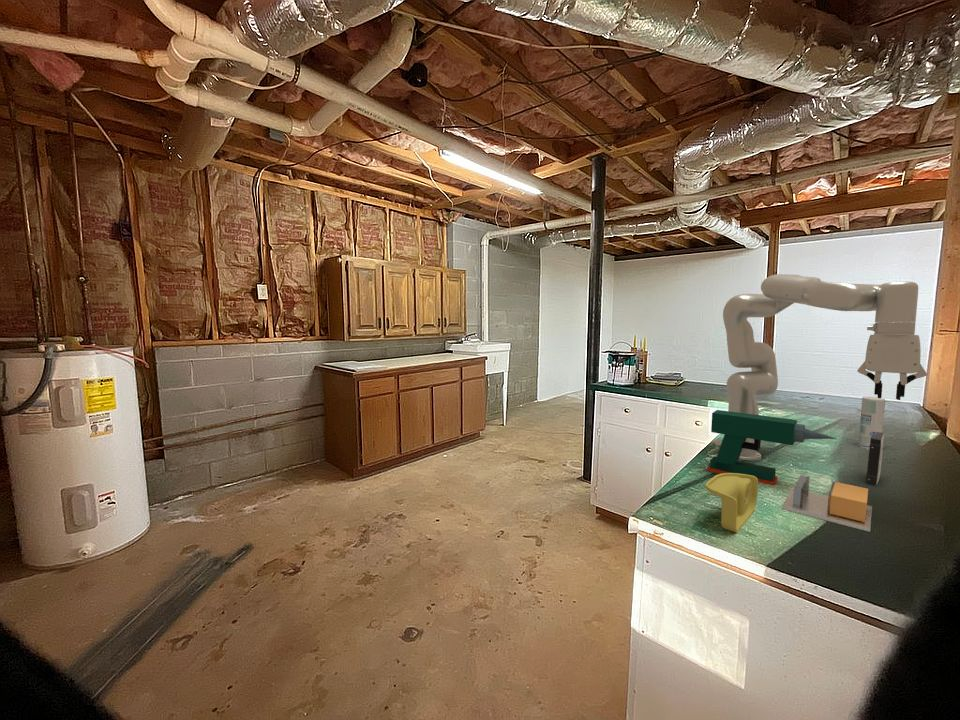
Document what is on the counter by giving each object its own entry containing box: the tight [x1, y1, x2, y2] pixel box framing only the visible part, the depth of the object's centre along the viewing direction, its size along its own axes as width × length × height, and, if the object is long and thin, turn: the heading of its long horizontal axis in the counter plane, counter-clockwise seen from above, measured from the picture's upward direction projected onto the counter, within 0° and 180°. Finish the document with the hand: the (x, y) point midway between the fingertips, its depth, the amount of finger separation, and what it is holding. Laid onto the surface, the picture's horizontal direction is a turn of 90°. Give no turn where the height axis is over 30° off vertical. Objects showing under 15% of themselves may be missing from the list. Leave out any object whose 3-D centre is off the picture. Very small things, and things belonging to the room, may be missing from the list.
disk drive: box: [865, 432, 885, 486], centre depth 127 cm, size 10×3×15 cm, turn 133°
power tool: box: [707, 409, 838, 486], centre depth 127 cm, size 32×7×20 cm, turn 47°
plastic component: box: [704, 473, 759, 534], centre depth 104 cm, size 20×7×10 cm, turn 134°
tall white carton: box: [858, 396, 886, 450], centre depth 159 cm, size 6×6×20 cm
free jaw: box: [827, 481, 869, 522], centre depth 105 cm, size 7×12×5 cm, turn 135°
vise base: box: [781, 474, 873, 533], centre depth 108 cm, size 17×16×6 cm
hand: (888, 397), depth 108 cm, fingers open, 3 cm apart
